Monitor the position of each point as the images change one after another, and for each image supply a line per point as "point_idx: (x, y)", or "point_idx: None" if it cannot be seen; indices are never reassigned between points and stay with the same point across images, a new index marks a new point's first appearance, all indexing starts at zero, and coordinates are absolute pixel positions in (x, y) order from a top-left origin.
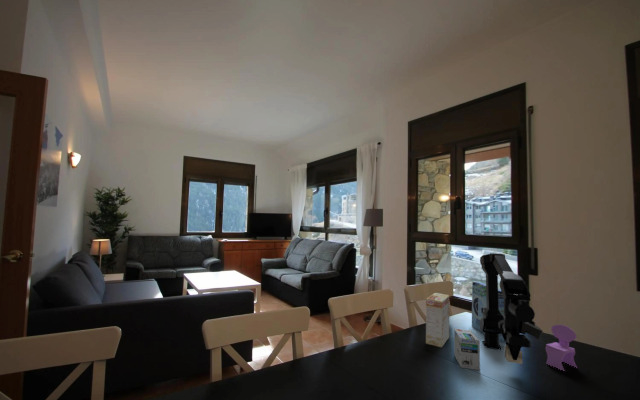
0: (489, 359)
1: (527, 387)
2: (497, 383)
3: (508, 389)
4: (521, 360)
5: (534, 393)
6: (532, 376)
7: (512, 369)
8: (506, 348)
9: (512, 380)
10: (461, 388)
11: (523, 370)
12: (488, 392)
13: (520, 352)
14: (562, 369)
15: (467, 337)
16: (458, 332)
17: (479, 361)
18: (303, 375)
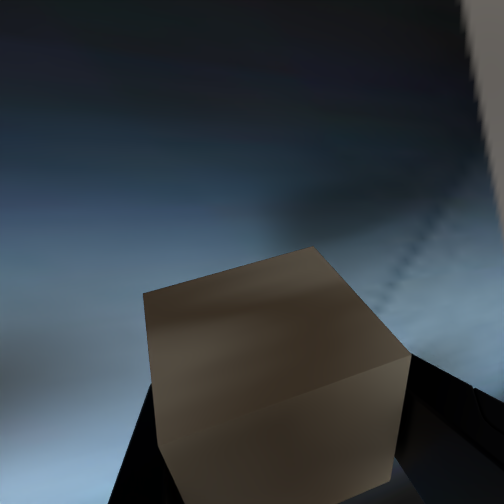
0: (34, 419)
1: (397, 150)
2: (407, 305)
3: (456, 252)
4: (333, 278)
5: (468, 107)
6: (141, 89)
7: (109, 263)
8: (336, 502)
9: (332, 244)
10: (488, 388)
11: (38, 174)
12: (500, 317)
13: (407, 370)
14: None
15: None
16: None
17: None
18: None
